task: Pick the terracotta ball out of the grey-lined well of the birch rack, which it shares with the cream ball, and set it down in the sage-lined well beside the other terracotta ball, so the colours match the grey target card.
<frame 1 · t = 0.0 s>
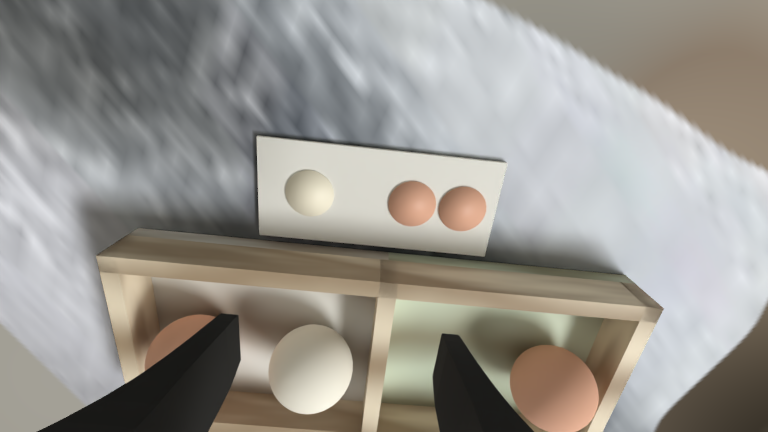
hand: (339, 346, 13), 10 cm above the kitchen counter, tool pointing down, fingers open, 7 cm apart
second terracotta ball: (552, 387, 22), point 3 cm above the kitchen counter, touching two-well rack
cream ball: (311, 367, 22), point 3 cm above the kitchen counter, touching two-well rack
target card: (378, 198, 21), on the kitchen counter
two-well rack: (377, 333, 25), on the kitchen counter
terracotta ball: (194, 357, 22), point 3 cm above the kitchen counter, touching two-well rack
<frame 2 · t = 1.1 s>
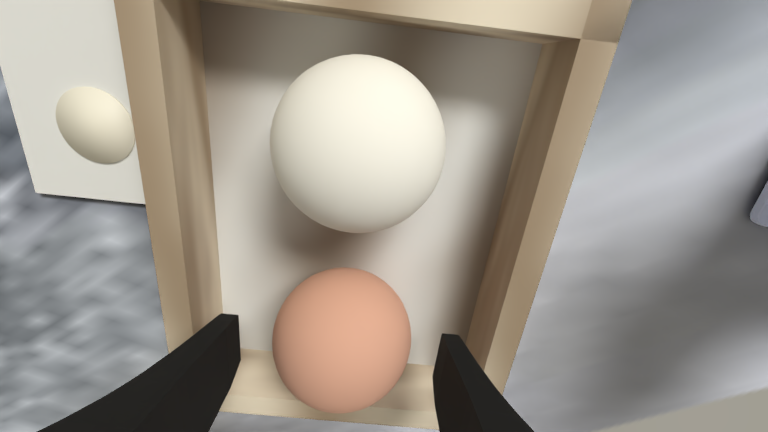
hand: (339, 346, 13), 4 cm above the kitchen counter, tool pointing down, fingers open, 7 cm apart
cream ball: (359, 147, 10), point 3 cm above the kitchen counter, touching two-well rack
target card: (80, 5, 12), on the kitchen counter
two-well rack: (376, 9, 12), on the kitchen counter
terracotta ball: (343, 335, 13), point 3 cm above the kitchen counter, touching two-well rack
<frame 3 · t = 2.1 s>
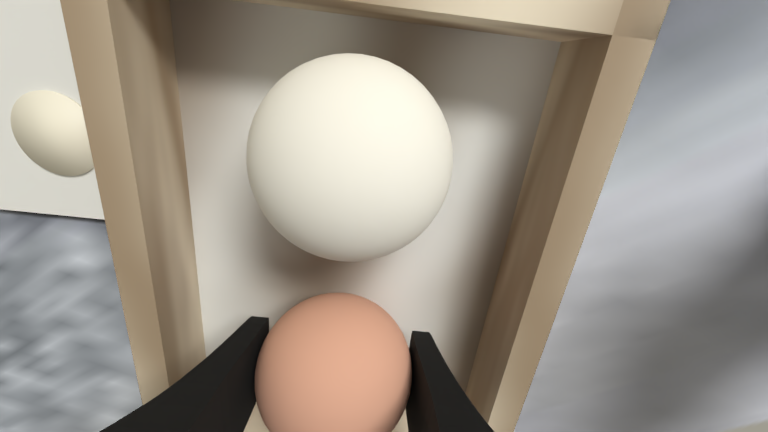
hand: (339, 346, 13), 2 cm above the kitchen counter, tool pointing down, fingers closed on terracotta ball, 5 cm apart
cream ball: (352, 161, 9), point 3 cm above the kitchen counter, touching two-well rack
two-well rack: (372, 2, 11), on the kitchen counter
terracotta ball: (335, 370, 12), point 3 cm above the kitchen counter, touching gripper, two-well rack
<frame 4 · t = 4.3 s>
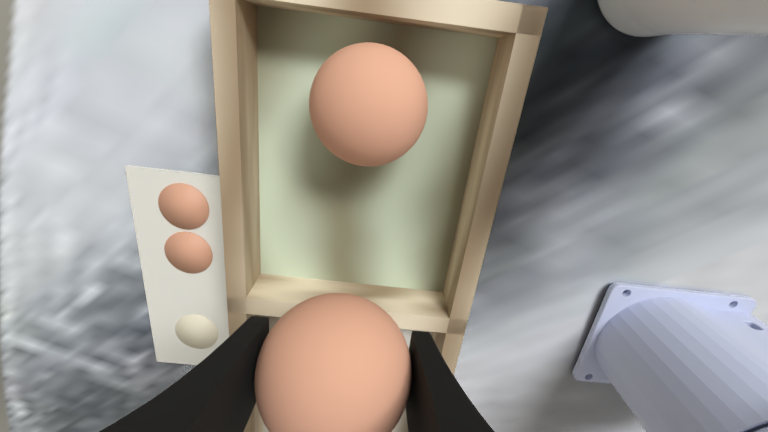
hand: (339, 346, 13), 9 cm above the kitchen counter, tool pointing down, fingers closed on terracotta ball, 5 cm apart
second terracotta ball: (368, 107, 15), point 3 cm above the kitchen counter, touching two-well rack
target card: (194, 278, 23), on the kitchen counter
two-well rack: (353, 280, 23), on the kitchen counter
terracotta ball: (335, 370, 12), point 11 cm above the kitchen counter, touching gripper
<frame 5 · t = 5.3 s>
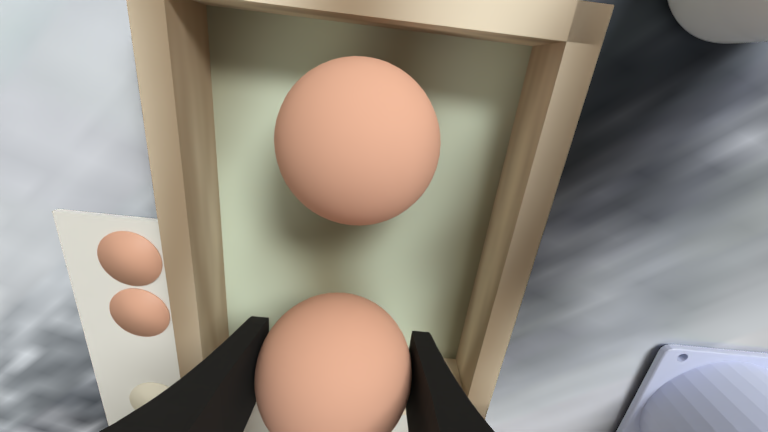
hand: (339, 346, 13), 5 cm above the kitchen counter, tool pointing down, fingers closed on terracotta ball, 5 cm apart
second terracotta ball: (358, 144, 11), point 3 cm above the kitchen counter, touching two-well rack
target card: (150, 340, 18), on the kitchen counter
two-well rack: (345, 342, 19), on the kitchen counter
terracotta ball: (335, 370, 12), point 6 cm above the kitchen counter, touching gripper
when the fingers open (4 cm above the kitchen counter, at t = 6.2 s): terracotta ball drops 2 cm, resting on two-well rack.
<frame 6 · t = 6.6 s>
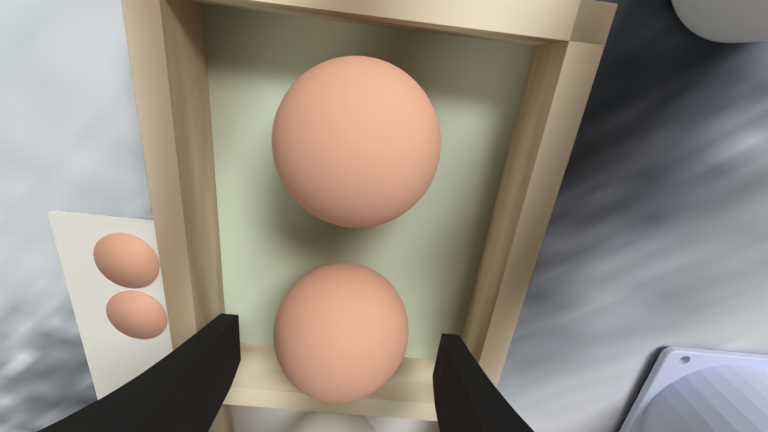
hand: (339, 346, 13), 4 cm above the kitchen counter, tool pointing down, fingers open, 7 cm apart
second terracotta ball: (357, 145, 11), point 3 cm above the kitchen counter, touching two-well rack
target card: (147, 343, 18), on the kitchen counter
two-well rack: (344, 344, 18), on the kitchen counter
terracotta ball: (342, 329, 14), point 3 cm above the kitchen counter, touching two-well rack
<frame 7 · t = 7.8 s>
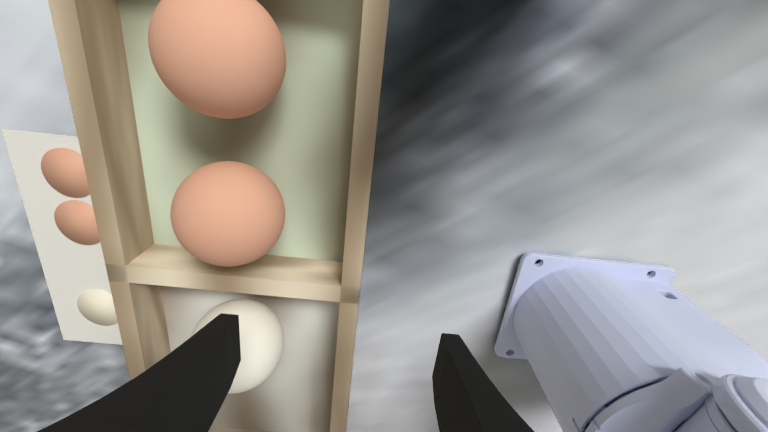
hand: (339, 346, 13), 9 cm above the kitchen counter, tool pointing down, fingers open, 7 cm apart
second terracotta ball: (222, 54, 14), point 3 cm above the kitchen counter, touching two-well rack
cream ball: (238, 344, 20), point 3 cm above the kitchen counter, touching two-well rack
target card: (91, 250, 22), on the kitchen counter
two-well rack: (257, 252, 22), on the kitchen counter
terracotta ball: (231, 213, 17), point 3 cm above the kitchen counter, touching two-well rack
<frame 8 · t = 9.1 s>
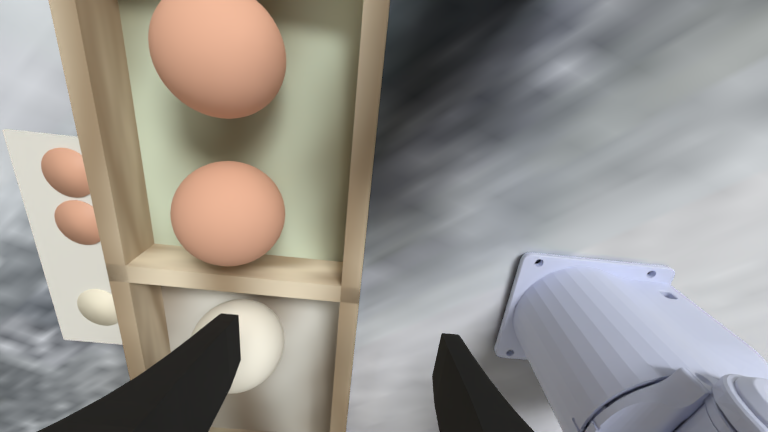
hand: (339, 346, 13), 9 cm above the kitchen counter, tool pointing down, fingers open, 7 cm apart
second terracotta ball: (222, 54, 14), point 3 cm above the kitchen counter, touching two-well rack
cream ball: (238, 344, 20), point 3 cm above the kitchen counter, touching two-well rack
target card: (92, 250, 22), on the kitchen counter
two-well rack: (257, 252, 22), on the kitchen counter
terracotta ball: (231, 213, 17), point 3 cm above the kitchen counter, touching two-well rack
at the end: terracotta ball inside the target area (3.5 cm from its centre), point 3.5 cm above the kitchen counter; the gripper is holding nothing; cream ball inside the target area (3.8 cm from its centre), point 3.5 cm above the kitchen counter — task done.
